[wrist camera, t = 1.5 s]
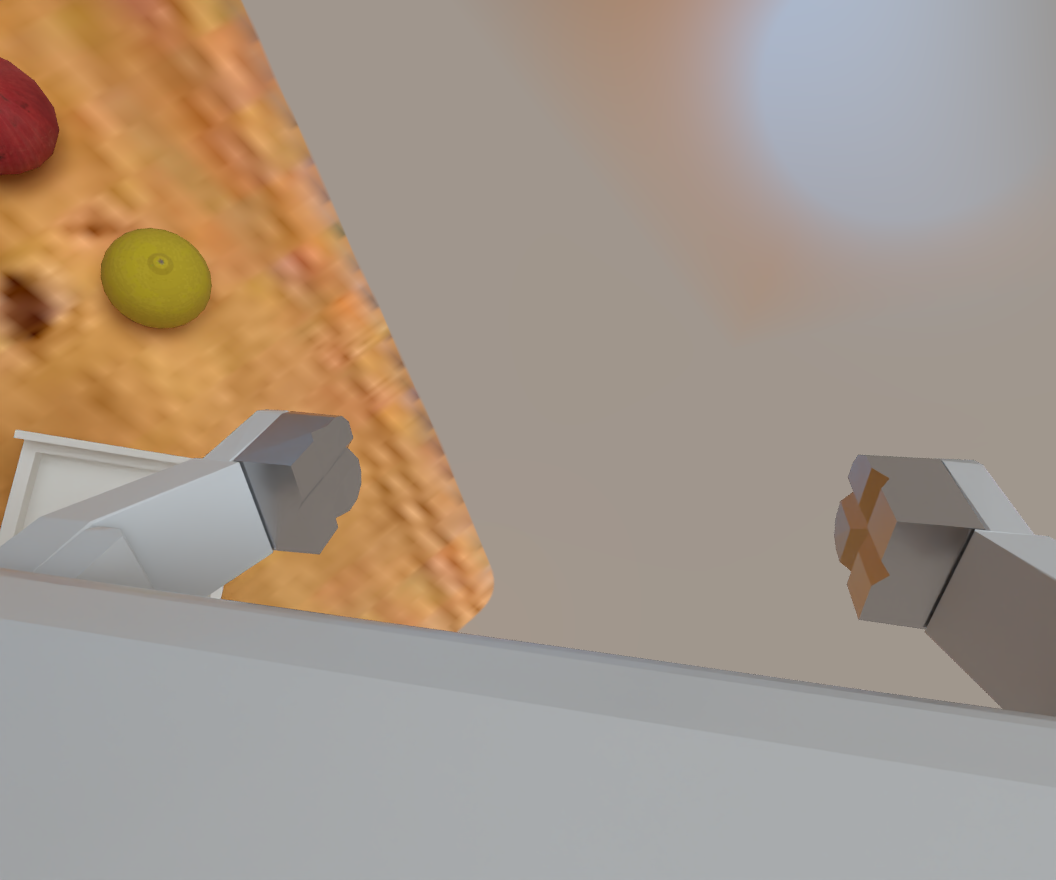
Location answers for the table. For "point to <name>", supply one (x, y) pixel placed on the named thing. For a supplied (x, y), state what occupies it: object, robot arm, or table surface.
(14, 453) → the table surface
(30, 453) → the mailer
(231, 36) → the table surface
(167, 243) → the lemon
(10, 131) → the onion
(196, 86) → the table surface
